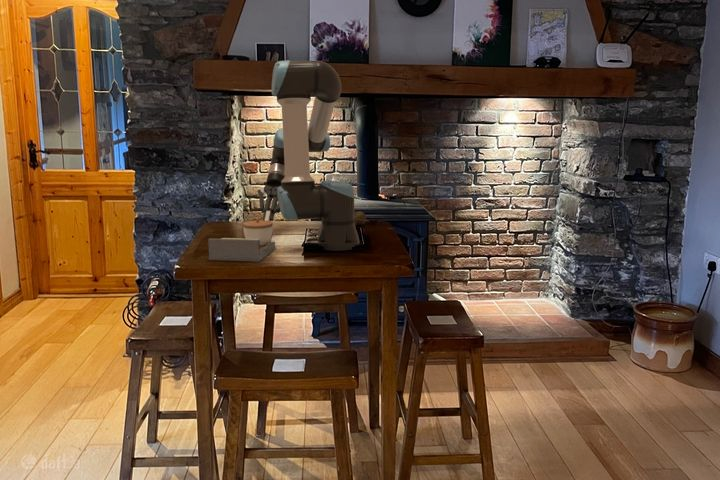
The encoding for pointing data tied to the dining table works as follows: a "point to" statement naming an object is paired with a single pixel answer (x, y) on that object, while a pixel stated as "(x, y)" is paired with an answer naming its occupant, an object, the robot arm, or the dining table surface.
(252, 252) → the grey u-shaped frame
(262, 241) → the lidded jar
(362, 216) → the kendama
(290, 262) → the dining table surface
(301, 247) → the dining table surface
